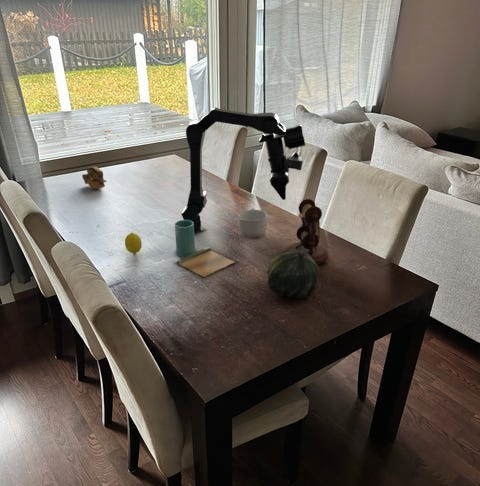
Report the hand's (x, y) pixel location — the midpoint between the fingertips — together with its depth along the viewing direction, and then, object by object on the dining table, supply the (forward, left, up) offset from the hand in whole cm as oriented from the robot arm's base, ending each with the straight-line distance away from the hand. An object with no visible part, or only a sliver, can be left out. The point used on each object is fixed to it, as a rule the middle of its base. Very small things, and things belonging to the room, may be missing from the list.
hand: (284, 195), depth 156 cm
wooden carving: (-97, -23, -16) cm, 101 cm away
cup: (-14, -36, -15) cm, 41 cm away
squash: (+28, -30, -16) cm, 44 cm away
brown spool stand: (+18, -10, -16) cm, 26 cm away
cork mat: (-3, -36, -15) cm, 39 cm away
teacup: (-9, -7, -16) cm, 19 cm away
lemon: (-26, -49, -16) cm, 57 cm away
